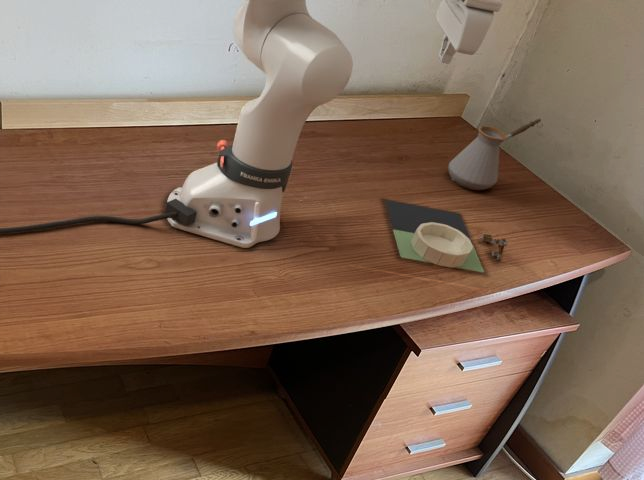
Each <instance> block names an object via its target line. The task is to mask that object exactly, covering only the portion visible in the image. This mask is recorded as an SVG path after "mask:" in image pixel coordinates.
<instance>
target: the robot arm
mask: <svg viewBox="0 0 644 480" xmlns="http://www.w3.org/2000/svg"><path fill="white" fill-rule="evenodd" d="M503 3H504V0H441V1H440V4H439V6H438V8H437V11H436V16H435V19H436V21H437V22H438V24H439V26H440V28H441V29H442V31H443V32H444V33H443V36H442V41H441V47H440V50H439V52H438V56H437V57H438V59H439V60H440V62H441V63H442V64H446V65H447V64H448V65H449V64H450V63H451V62H452V59H453V57H454V55H455V54H456V53H458V54H463V55H468V56H474V55H475V54H476V53H477V51H479V49H480V47H481V46H482V44H483V41H484V39H485V37H486V36H487V34H488V31H489V30H490V27H491V25H492V23H493V20H494V16H495V13H499V12H500V10H501V8H502V6H503V5H504V4H503ZM232 34H233V38H234V41H235V42H236V44H237V46H238V47H239V50H241V52H242V54H243V55H244V56H245V58H246V59H247V60H248V61H249V62H250V63H251V64H253V65H254V66H255V67H256V68H258V69H259V70H260V71H261V72H262V73H263V74H265V77H266V81H265V86H264V88H263V90H262V92H261V93H260V95H259V97H256V98H253V99H251V100H249V101H248V102H247V103H245V104H244V106H243V107H242V108H241V110H240V113H239V116H238V121H237V126H236V129H235V135H234V138H233V144H231V145H229V143H228V141H227V140H225V139H221V140H219V141H218V142H217V145H216V151H217V152H218V157H217V162H214V163H211V164H210V165H205V166H203V167H202V168H199V169H196V170H193V171H192V172H191V173H189V174H188V176H187V177H186V179H185V181H184V182H183V185H182V187H181V186H180V187H177V188H174V189H173V190H172V191H171V193H169V195H168V197H167V201H166V204H165V210H164V213H163V214H159V215H153V216H149V217H145V218H135V219H134V218H124V217H117V216H109V215H94V216H93V215H92V216H85V217H79V218H73V219H67V220H59V221H52V222H46V223H38V224H31V225H22V226H21V225H20V226H13V227H11V226H10V227H1V228H0V235H4V234H13V233H14V234H15V233H24V232H32V231H39V230H47V229H53V228H59V227H66V226H67V227H68V226H73V225H79V224H84V223H93V222H112V223H119V224H125V225H145V224H150V223H152V222H157V221H162V220H167V222H168V223H169V225H171V227H172V228H175V229H178V230H181V231H184V232H188V233H191V234H194V235H198V236H202V237H205V238H208V239H211V240H215V241H219V242H222V243H225V244H229V245H232V246H235V247H239V248H242V249H249V248H252V247H253V246H254V245H256V244H258V243H262V242H267V241H270V240H272V239H274V238H276V236H278V235H279V233H280V230H281V209H282V202H283V196H284V192H285V191H286V189H287V187H288V184H289V181H290V178H291V175H292V172H293V165H294V164H293V157H294V154H295V151H296V148H297V146H298V142H299V139H300V136H301V133H302V130H303V128H304V125H305V123H306V121H307V120H308V119H309V118H310V116H311V114H312V113H313V112H314V111H315V109H316V108H317V107H319V106H322V105H324V104H327V103H330V102H331V101H333V100H334V99H336V98H337V97H338V96H339V95H340V94H342V92H343V91H344V90H345V89H346V87H347V85H348V83H349V81H350V79H351V76H352V74H353V73H352V72H353V66H354V63H353V57H352V54H351V52H350V51H349V50H348V48H347V47H346V45H345V44H344V43H343V41H342V40H341V38H340V37H338V35H337V34H336V33H335V32H334V31H332V30H331V29H330V28H328V27H326V26H325V25H323V24H322V23H320V22H319V21H317V20H316V19H315V18H314V17H312V16H311V15H310V13H309V11H308V9H307V0H245V2H244V3H242V5H241V6H240V7H239V9H238V11H237V12H236V15H235V17H234V21H233V26H232Z"/></svg>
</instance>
